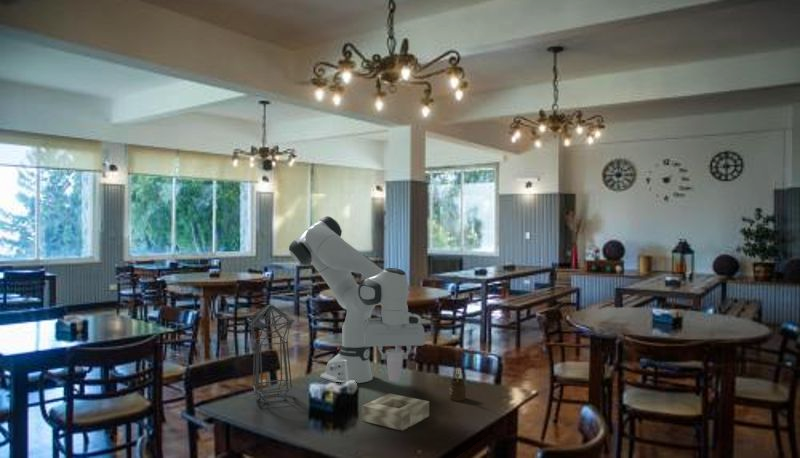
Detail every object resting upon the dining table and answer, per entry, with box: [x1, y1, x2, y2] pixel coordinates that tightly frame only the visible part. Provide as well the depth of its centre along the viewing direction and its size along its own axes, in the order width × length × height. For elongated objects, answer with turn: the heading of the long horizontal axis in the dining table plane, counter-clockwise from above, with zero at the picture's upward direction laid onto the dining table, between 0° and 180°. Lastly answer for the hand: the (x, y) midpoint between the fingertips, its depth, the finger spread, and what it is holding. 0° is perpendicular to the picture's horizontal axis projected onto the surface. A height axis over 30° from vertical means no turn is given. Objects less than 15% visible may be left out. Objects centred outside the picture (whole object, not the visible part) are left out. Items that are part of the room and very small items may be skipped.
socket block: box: [361, 393, 430, 431], centre depth 186 cm, size 16×16×5 cm
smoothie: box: [384, 346, 405, 382], centre depth 185 cm, size 6×6×14 cm
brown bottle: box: [448, 367, 467, 402], centre depth 207 cm, size 6×6×12 cm
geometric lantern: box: [245, 304, 295, 404], centre depth 206 cm, size 16×16×35 cm
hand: (394, 359), depth 185 cm, fingers closed on smoothie, 6 cm apart
